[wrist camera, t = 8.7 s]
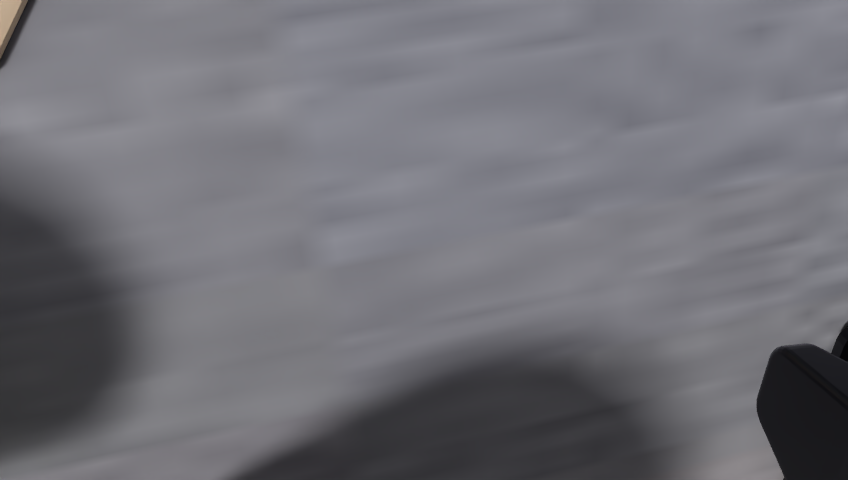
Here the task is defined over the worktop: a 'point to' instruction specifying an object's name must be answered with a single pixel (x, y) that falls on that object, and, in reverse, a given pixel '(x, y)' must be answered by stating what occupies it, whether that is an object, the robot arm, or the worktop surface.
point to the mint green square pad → (9, 19)
